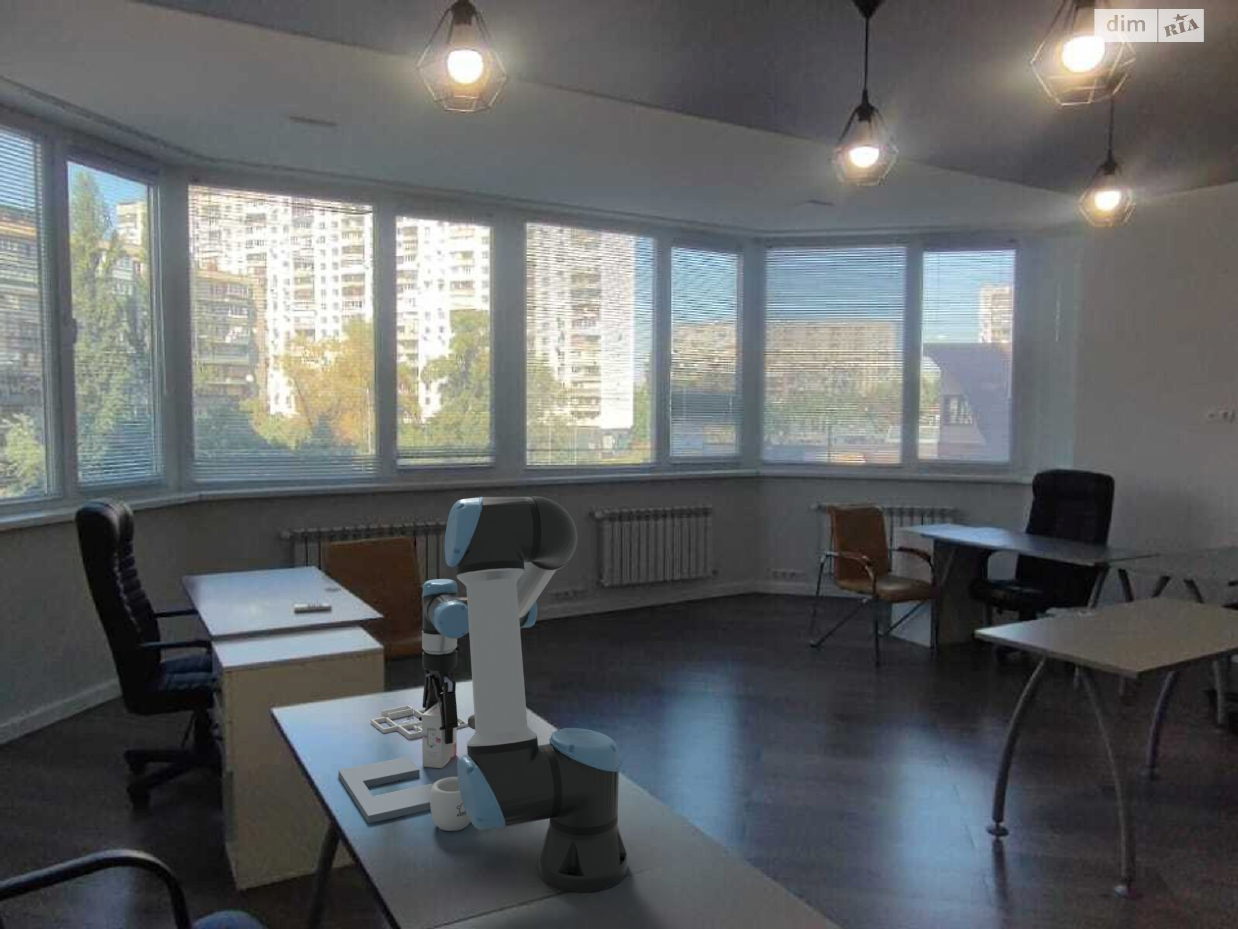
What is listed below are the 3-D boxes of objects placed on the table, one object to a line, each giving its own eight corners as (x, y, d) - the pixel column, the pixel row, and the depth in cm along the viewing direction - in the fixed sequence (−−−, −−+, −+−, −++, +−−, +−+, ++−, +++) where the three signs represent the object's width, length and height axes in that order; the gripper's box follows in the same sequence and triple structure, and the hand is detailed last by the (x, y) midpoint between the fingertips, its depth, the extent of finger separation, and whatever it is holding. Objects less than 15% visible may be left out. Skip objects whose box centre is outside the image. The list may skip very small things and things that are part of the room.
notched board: (445, 806, 170) (445, 798, 170) (368, 823, 162) (368, 815, 162) (408, 763, 190) (408, 756, 190) (338, 776, 183) (338, 770, 182)
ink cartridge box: (436, 752, 196) (437, 688, 196) (457, 754, 195) (457, 690, 195) (420, 767, 188) (421, 700, 187) (442, 769, 187) (442, 702, 186)
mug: (439, 840, 156) (439, 797, 156) (423, 820, 164) (423, 780, 163) (500, 824, 163) (500, 783, 162) (482, 806, 170) (483, 767, 169)
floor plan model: (342, 726, 213) (342, 718, 213) (435, 707, 228) (435, 699, 228) (370, 750, 198) (371, 742, 198) (468, 728, 213) (468, 720, 213)
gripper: (474, 659, 183) (473, 763, 184) (439, 636, 202) (439, 730, 203) (440, 664, 179) (439, 770, 180) (408, 640, 198) (408, 736, 199)
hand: (439, 749), depth 192 cm, fingers closed on ink cartridge box, 9 cm apart
